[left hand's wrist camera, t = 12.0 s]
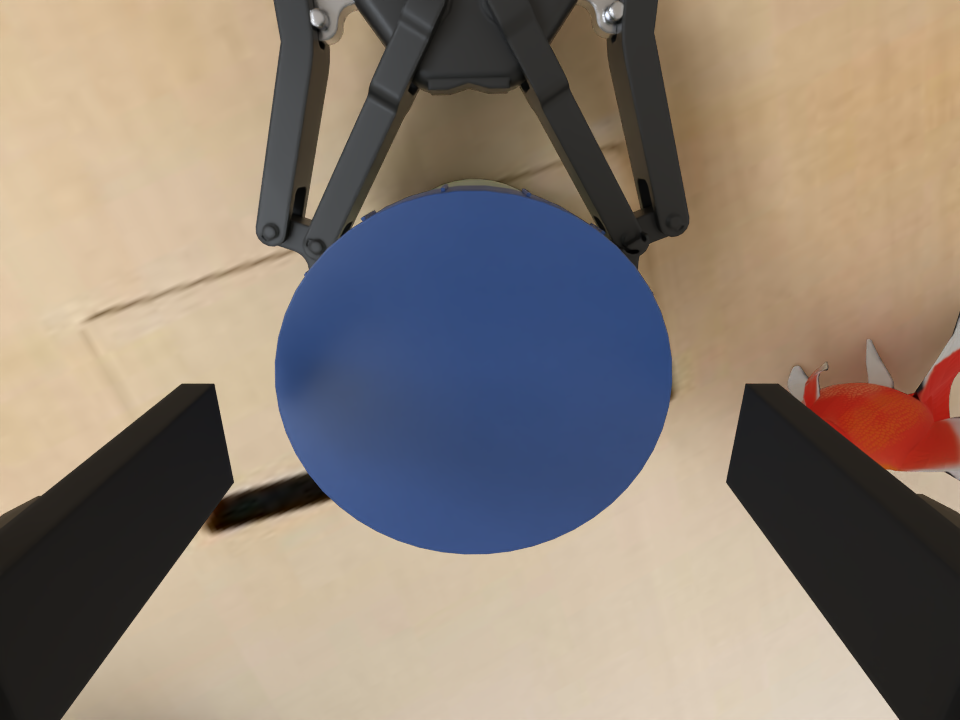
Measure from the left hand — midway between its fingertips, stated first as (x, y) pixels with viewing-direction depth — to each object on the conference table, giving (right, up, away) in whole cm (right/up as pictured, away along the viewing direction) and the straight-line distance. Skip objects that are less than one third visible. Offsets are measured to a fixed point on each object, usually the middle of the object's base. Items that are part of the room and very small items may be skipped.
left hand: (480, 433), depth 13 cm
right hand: (0, 0, +13) cm, 13 cm away
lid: (0, +1, +3) cm, 3 cm away
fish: (+23, +2, +19) cm, 30 cm away
